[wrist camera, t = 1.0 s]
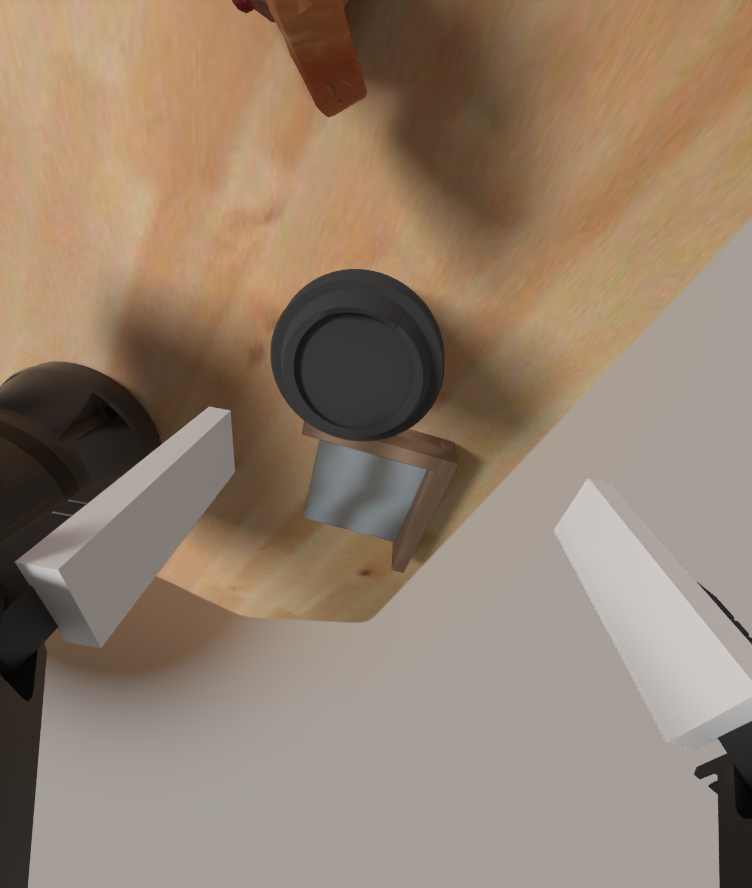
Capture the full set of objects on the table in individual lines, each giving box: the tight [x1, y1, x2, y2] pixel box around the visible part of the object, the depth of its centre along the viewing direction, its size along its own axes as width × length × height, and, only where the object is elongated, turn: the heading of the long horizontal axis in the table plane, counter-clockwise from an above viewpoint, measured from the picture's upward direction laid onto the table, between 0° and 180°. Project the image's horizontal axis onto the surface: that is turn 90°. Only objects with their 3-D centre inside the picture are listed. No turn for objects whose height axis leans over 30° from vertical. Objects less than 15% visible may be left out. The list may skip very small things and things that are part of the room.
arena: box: [302, 421, 459, 573], centre depth 35 cm, size 15×17×4 cm
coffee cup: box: [271, 269, 444, 441], centre depth 21 cm, size 9×9×15 cm
